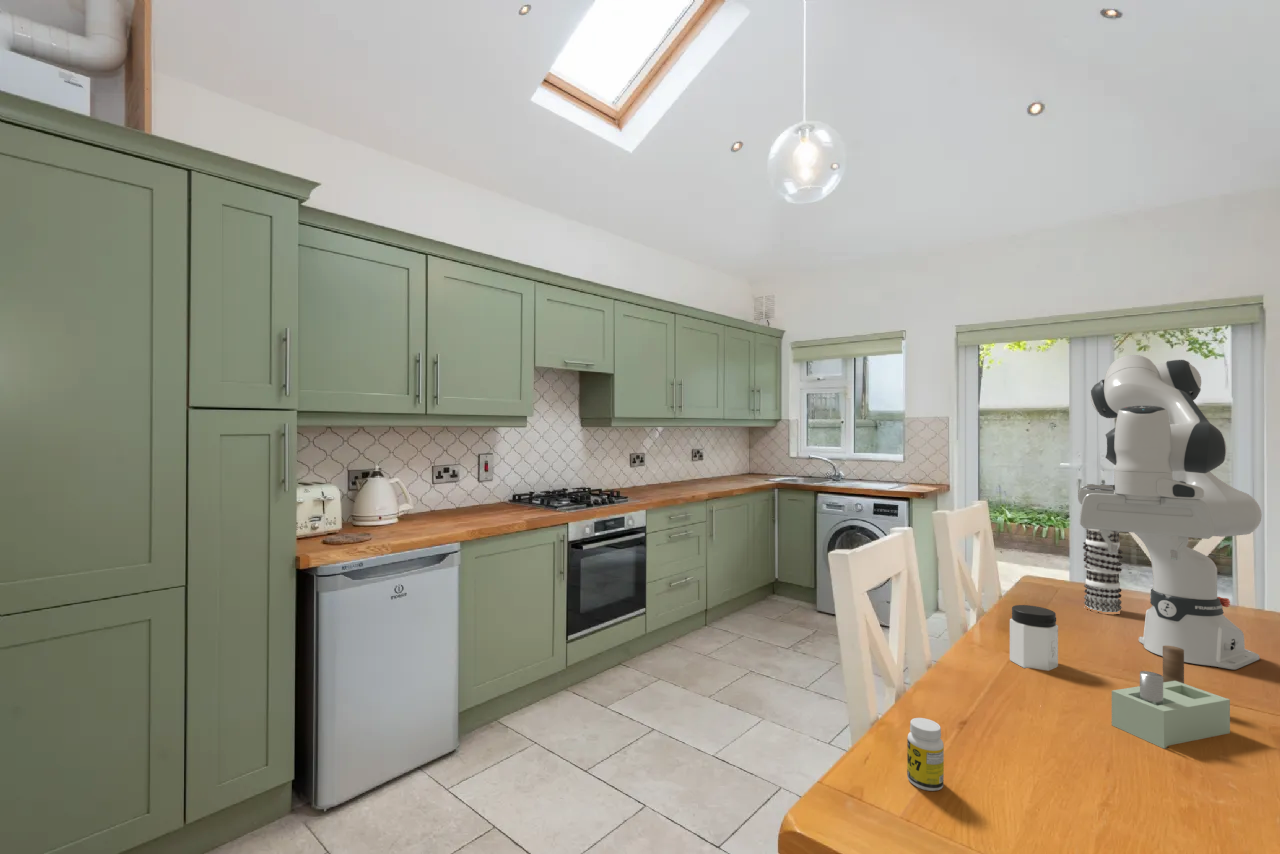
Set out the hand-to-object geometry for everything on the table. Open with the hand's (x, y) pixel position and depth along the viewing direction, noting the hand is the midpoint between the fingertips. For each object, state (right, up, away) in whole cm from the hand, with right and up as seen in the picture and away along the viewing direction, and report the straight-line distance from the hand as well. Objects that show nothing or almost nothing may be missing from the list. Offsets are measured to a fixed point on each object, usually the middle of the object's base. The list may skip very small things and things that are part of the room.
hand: (1143, 556), depth 116 cm
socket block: (-9, -27, -15) cm, 32 cm away
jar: (-13, -27, +14) cm, 33 cm away
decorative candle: (+35, -28, +55) cm, 72 cm away
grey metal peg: (-13, -27, -17) cm, 34 cm away
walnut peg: (+1, -26, -5) cm, 27 cm away
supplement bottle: (-59, -26, -31) cm, 71 cm away
